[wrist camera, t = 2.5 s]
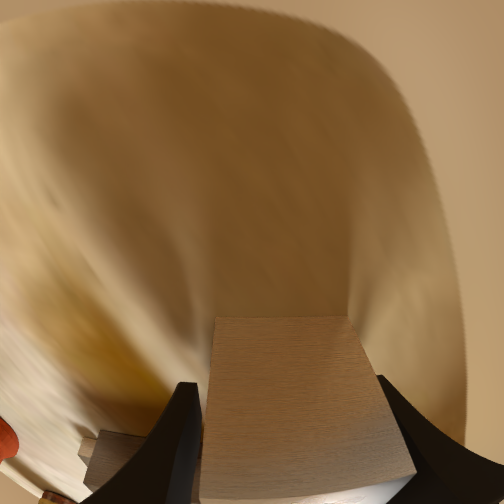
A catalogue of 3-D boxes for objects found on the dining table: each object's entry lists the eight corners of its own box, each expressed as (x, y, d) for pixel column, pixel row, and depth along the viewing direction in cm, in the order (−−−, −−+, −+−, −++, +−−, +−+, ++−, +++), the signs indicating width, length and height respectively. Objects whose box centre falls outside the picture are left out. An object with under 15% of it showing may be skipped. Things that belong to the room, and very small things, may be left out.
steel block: (347, 315, 11) (417, 472, 5) (325, 398, 13) (357, 527, 7) (215, 316, 11) (198, 498, 5) (220, 401, 13) (215, 539, 7)
